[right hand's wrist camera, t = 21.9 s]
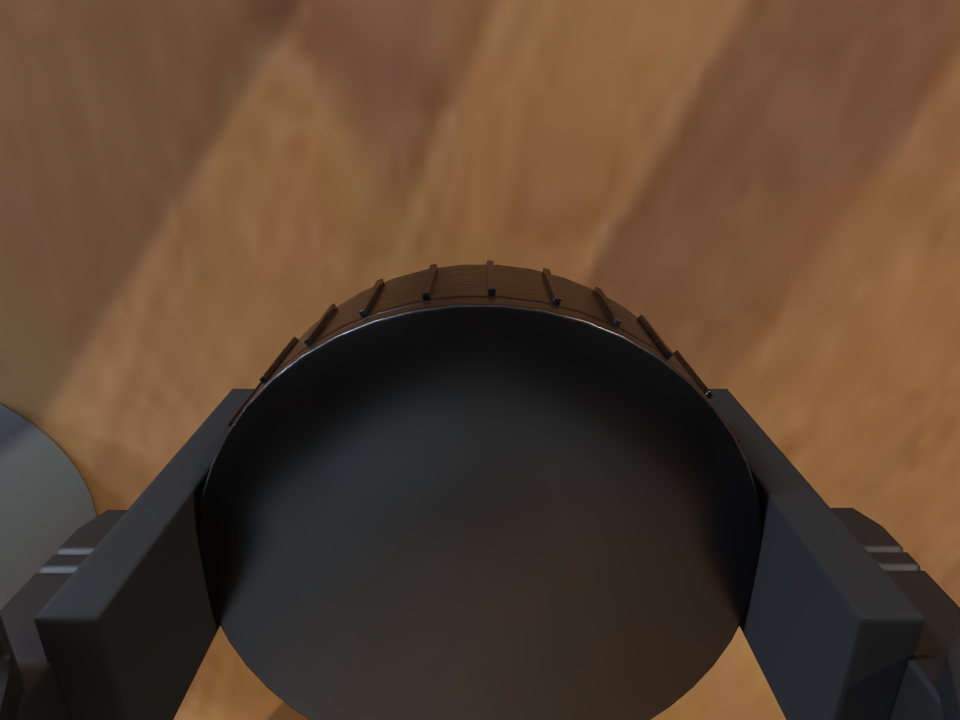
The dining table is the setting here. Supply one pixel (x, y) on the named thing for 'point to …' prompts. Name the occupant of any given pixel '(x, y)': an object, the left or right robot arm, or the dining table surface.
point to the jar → (35, 501)
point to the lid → (479, 509)
